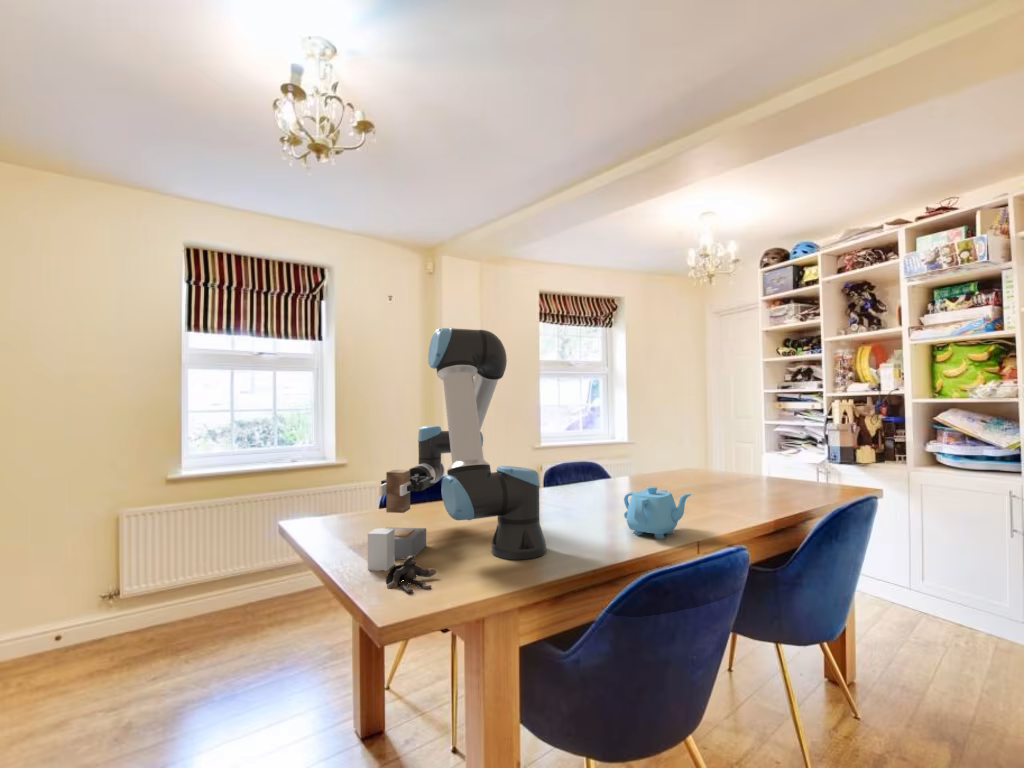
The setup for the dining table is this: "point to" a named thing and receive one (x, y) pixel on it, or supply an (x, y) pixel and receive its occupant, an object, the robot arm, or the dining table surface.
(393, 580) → the stuffed animal
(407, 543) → the base block
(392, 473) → the walnut block
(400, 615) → the dining table surface
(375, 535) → the white block
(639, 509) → the teapot
